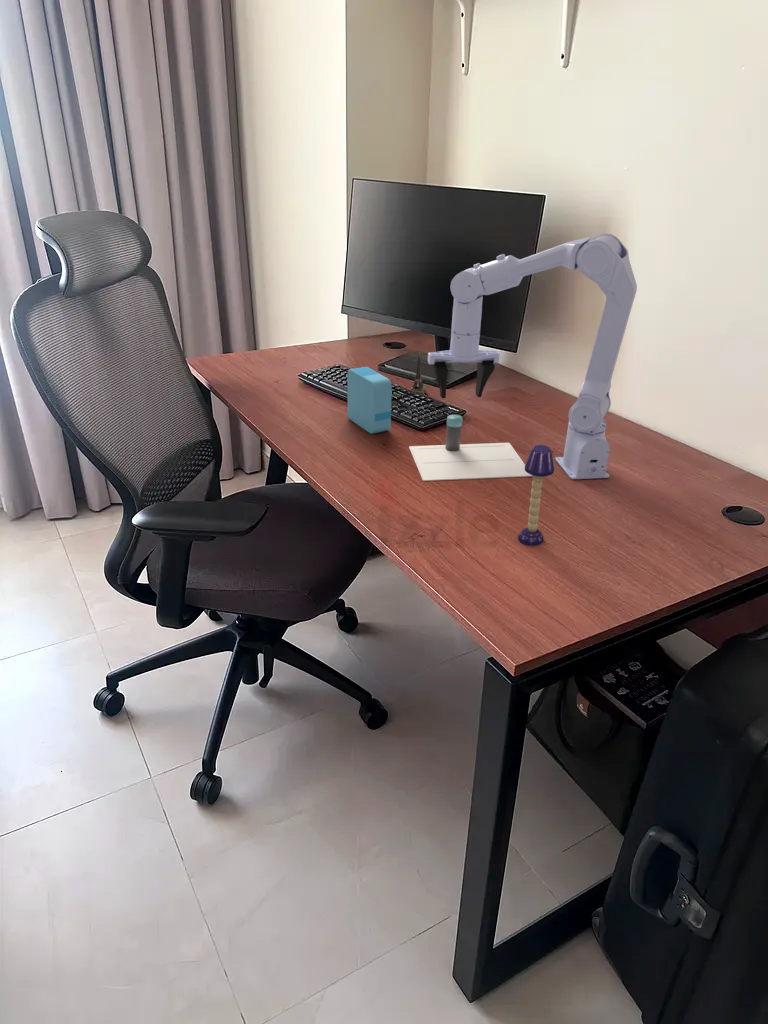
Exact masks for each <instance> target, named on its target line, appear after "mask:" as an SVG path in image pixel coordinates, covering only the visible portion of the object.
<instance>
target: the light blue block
mask: <svg viewBox="0 0 768 1024" xmlns="http://www.w3.org/2000/svg"><path fill="white" fill-rule="evenodd" d="M392 386H393V385H392V382H391V380H390V378H388V377H386V376H385V375H383V374H381V373H379V372H377V371H375V370H374V369H372V368H370V367H369V366H363V367H357V368H350V369H349V370H348V371H347V415H348V418H349V420H350V421H351V422H353V423H354V424H356V425H357V426H359V427H360V428H362V429H363V430H364V431H365V432H368V433H369V434H377V433H382V432H387V431H389V430H390V429H391V425H392V424H391V422H392V397H391V396H392V391H393V390H392V388H393V387H392Z"/></svg>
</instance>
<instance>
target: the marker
mask: <svg viewBox="0 0 768 1024" xmlns="http://www.w3.org/2000/svg"><path fill="white" fill-rule="evenodd" d="M446 417H447V418H446V432H445V433H446V434H445V435H446V436H445V445H446V447H445V449H446V450H448V451H453V452H454V451H458V450H459V449H460V444H461V437H462V426H463V419H464V418H463V416H462V415H459V414H450V415H447V416H446Z"/></svg>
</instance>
